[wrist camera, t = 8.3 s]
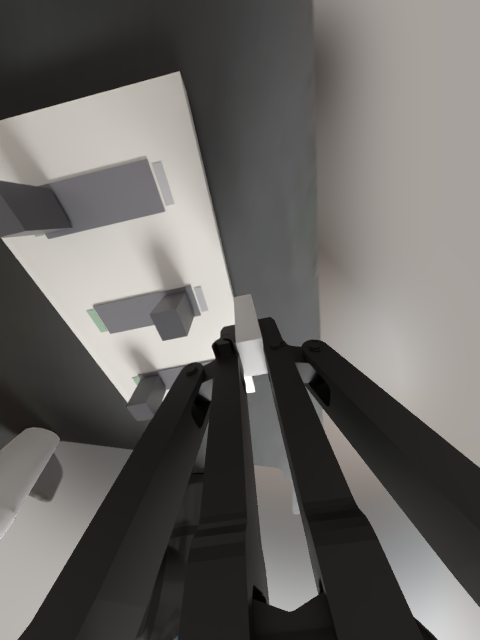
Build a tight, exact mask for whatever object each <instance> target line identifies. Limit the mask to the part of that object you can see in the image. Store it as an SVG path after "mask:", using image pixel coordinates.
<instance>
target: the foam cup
mask: <svg viewBox="0 0 480 640" xmlns="http://www.w3.org/2000/svg"><path fill="white" fill-rule="evenodd" d="M59 441H60V438H59V437H58V435H57V434H55V433H54V432H52V431H50V430H47V429H43V428H36V427H32V428H27V429H25V430H24V431H22V433H20V434H19V435H18V436H17V437H15V438H14V439H13V440H12V441H11V442H10V443H8V444H7V445H6V446H5V447H4V448H3V449H1V450H0V540H1V538H2V537H3V535H4V534H5V533H6V531H7V530H8V528H9V527H10V526H11V524H12V523H13V521H14V520H15V516H16V514H17V512H18V511H19V509H20V507H21V506H22V504H23V502H24V501H25V499H26V497H27V496H28V494H29V492H30V491H31V489H32V487H33V486H34V484H35V482H36V481H37V479H38V477H39V476H40V474H41V472H42V470H43V469H44V467H45V465H46V464H47V462H48V460H49V459H50V457H51V455H52V454H53V452H54V450H55V448H56V447H57V445H58V443H59Z"/></svg>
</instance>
